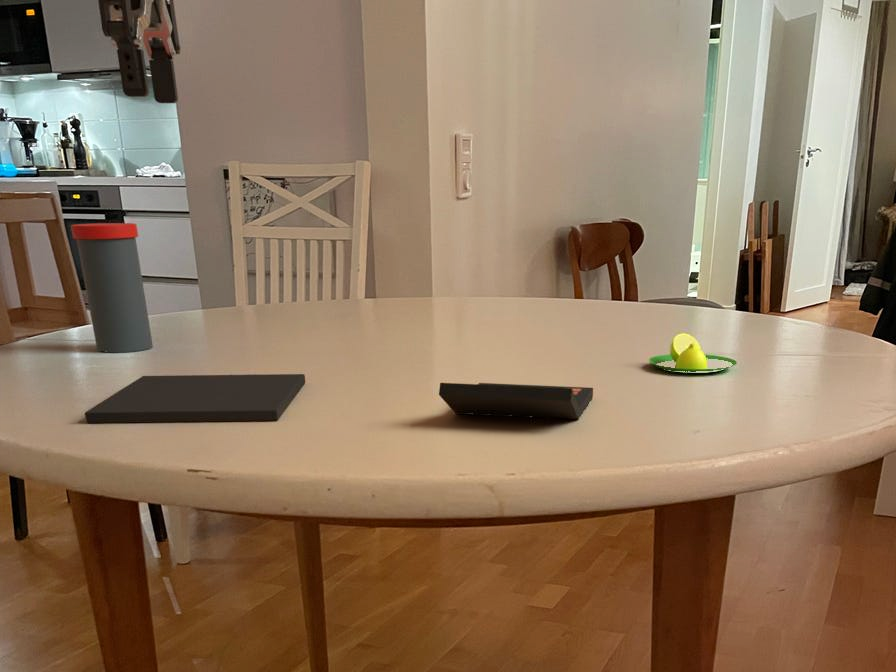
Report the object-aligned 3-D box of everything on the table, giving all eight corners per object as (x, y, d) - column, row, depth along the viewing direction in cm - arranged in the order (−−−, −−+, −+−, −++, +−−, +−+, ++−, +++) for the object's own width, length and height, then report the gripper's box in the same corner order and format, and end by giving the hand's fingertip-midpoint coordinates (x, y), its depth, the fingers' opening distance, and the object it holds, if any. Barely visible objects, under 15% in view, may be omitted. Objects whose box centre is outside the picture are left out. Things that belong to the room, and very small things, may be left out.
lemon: (631, 364, 87) (633, 333, 86) (701, 357, 90) (704, 327, 88) (681, 379, 80) (684, 345, 79) (754, 371, 83) (758, 339, 82)
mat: (86, 423, 67) (83, 412, 67) (144, 385, 80) (142, 375, 79) (278, 421, 67) (276, 410, 67) (305, 383, 80) (304, 373, 80)
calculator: (592, 398, 74) (594, 360, 72) (569, 433, 63) (571, 389, 62) (479, 393, 76) (479, 355, 74) (439, 426, 66) (438, 383, 64)
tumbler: (85, 353, 95) (60, 226, 89) (105, 343, 100) (83, 223, 95) (146, 352, 95) (125, 225, 89) (163, 343, 100) (144, 222, 95)
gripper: (112, -88, 89) (140, 105, 96) (46, -133, 76) (84, 94, 83) (188, -89, 89) (211, 105, 96) (136, -134, 76) (166, 93, 83)
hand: (152, 100), depth 90 cm, fingers open, 8 cm apart
